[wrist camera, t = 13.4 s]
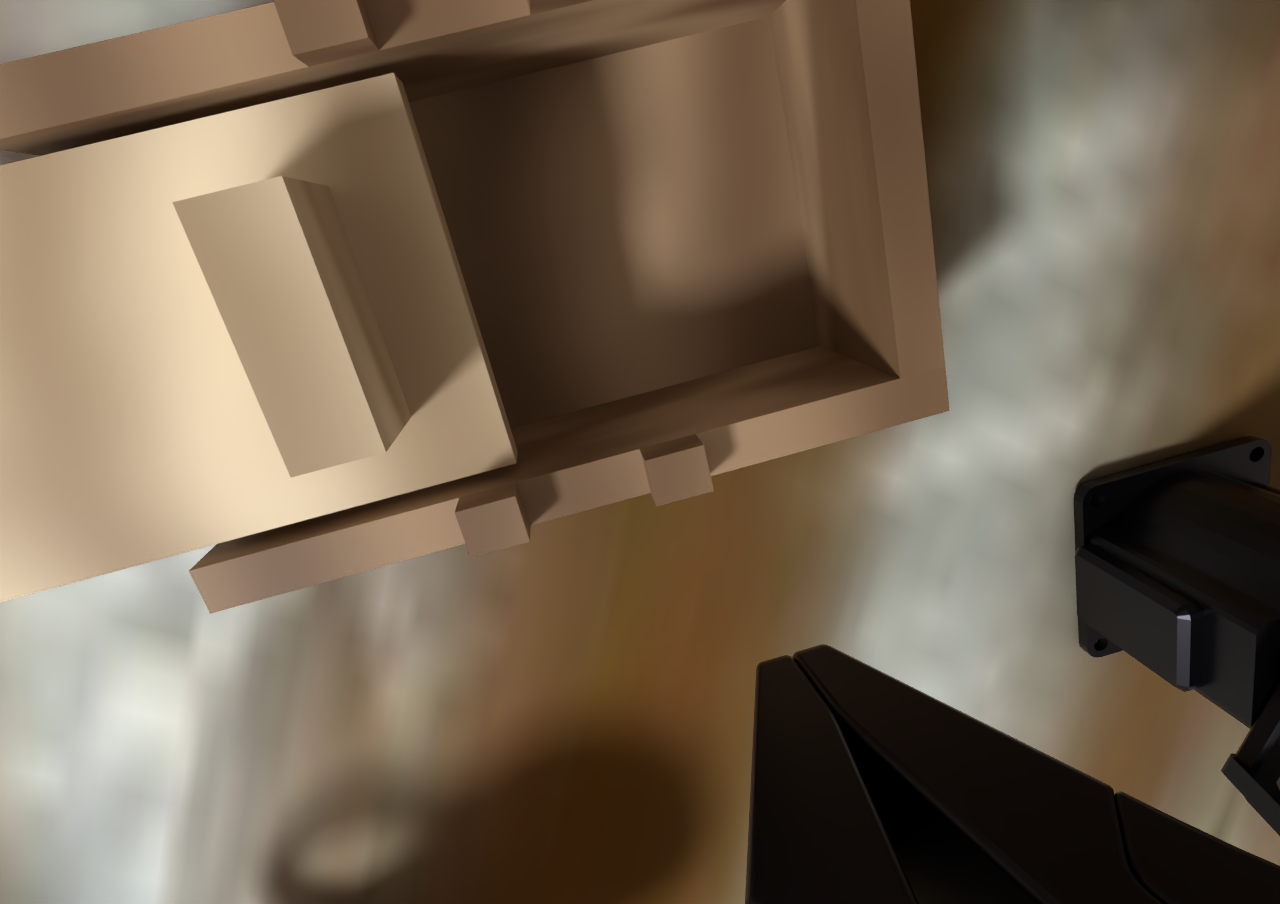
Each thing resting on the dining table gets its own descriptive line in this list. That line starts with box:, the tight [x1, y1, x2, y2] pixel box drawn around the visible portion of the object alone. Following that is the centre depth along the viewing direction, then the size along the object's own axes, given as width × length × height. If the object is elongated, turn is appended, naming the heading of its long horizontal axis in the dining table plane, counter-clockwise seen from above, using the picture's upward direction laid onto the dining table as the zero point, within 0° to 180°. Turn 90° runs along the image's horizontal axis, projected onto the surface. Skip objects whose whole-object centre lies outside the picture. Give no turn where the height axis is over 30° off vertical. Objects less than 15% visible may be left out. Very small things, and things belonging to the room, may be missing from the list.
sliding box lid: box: [0, 73, 518, 602], centre depth 12 cm, size 14×7×3 cm, turn 103°
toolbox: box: [0, 0, 949, 613], centre depth 15 cm, size 16×10×6 cm, turn 103°
